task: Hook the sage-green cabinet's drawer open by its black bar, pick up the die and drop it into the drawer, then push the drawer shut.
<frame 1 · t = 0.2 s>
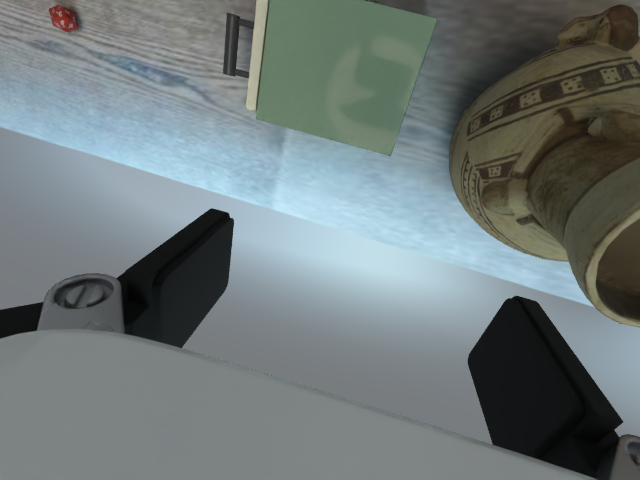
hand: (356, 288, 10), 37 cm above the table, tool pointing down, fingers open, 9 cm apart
ceramic vessel: (512, 138, 40), on the table
cabinet: (346, 76, 40), on the table
drawer: (305, 65, 36), point 5 cm above the table, slide at 0.5 cm
die: (75, 21, 43), on the table
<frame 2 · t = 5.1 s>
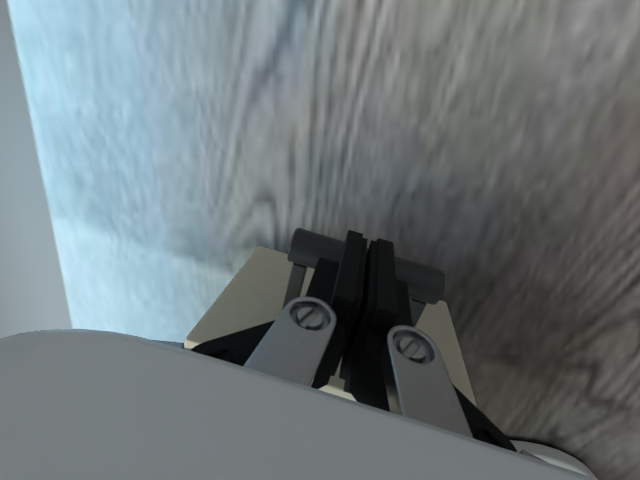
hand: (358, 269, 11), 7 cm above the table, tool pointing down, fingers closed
drawer: (319, 384, 17), point 5 cm above the table, slide at 1.1 cm, touching gripper
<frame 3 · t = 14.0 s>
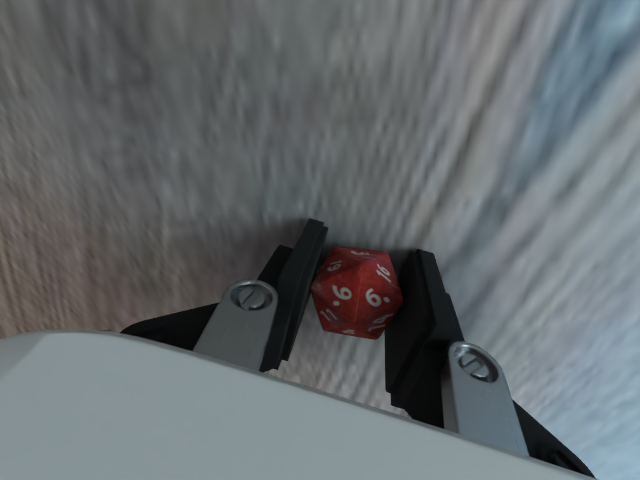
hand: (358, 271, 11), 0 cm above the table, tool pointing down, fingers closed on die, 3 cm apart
die: (359, 265, 12), on the table, touching gripper
when the fingers open (8 cm above the table, at t = 20.9 s): die stays where it is, resting on drawer.
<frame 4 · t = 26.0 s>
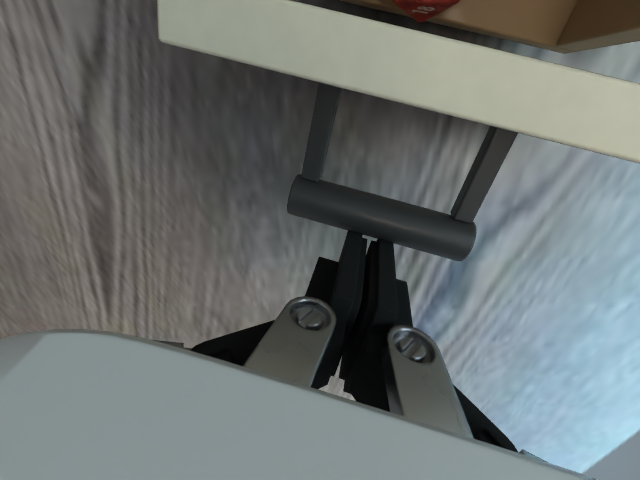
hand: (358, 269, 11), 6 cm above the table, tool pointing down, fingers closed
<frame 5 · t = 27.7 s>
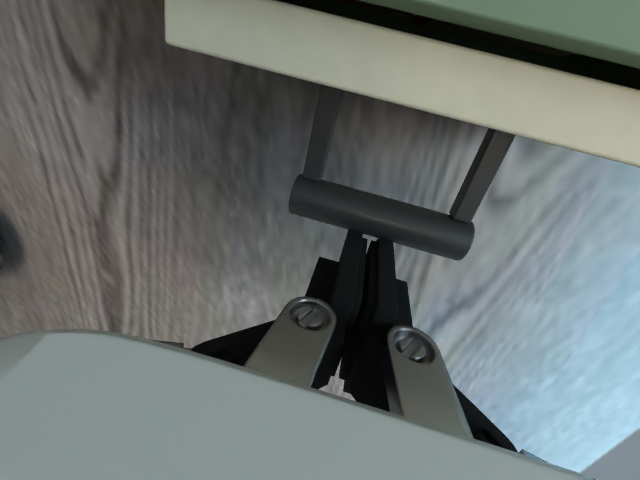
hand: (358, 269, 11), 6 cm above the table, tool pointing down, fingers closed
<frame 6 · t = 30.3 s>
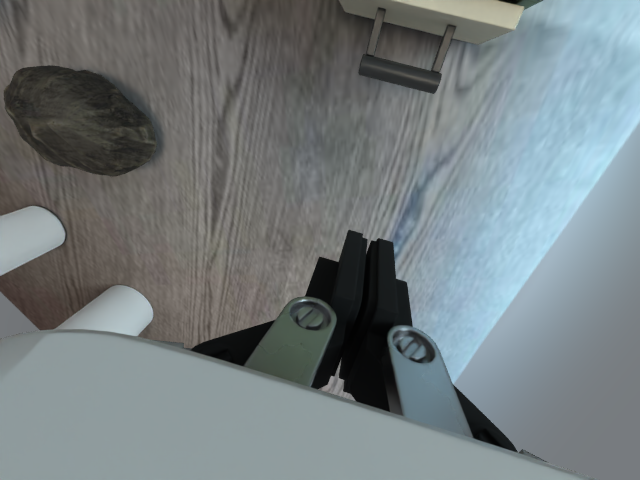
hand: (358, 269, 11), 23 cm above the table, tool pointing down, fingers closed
cup: (130, 305, 49), on the table
can: (48, 225, 45), on the table
rock: (119, 119, 35), on the table
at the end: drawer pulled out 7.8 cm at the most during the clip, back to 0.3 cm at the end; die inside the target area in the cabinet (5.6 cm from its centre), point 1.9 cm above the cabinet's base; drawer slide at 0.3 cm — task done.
